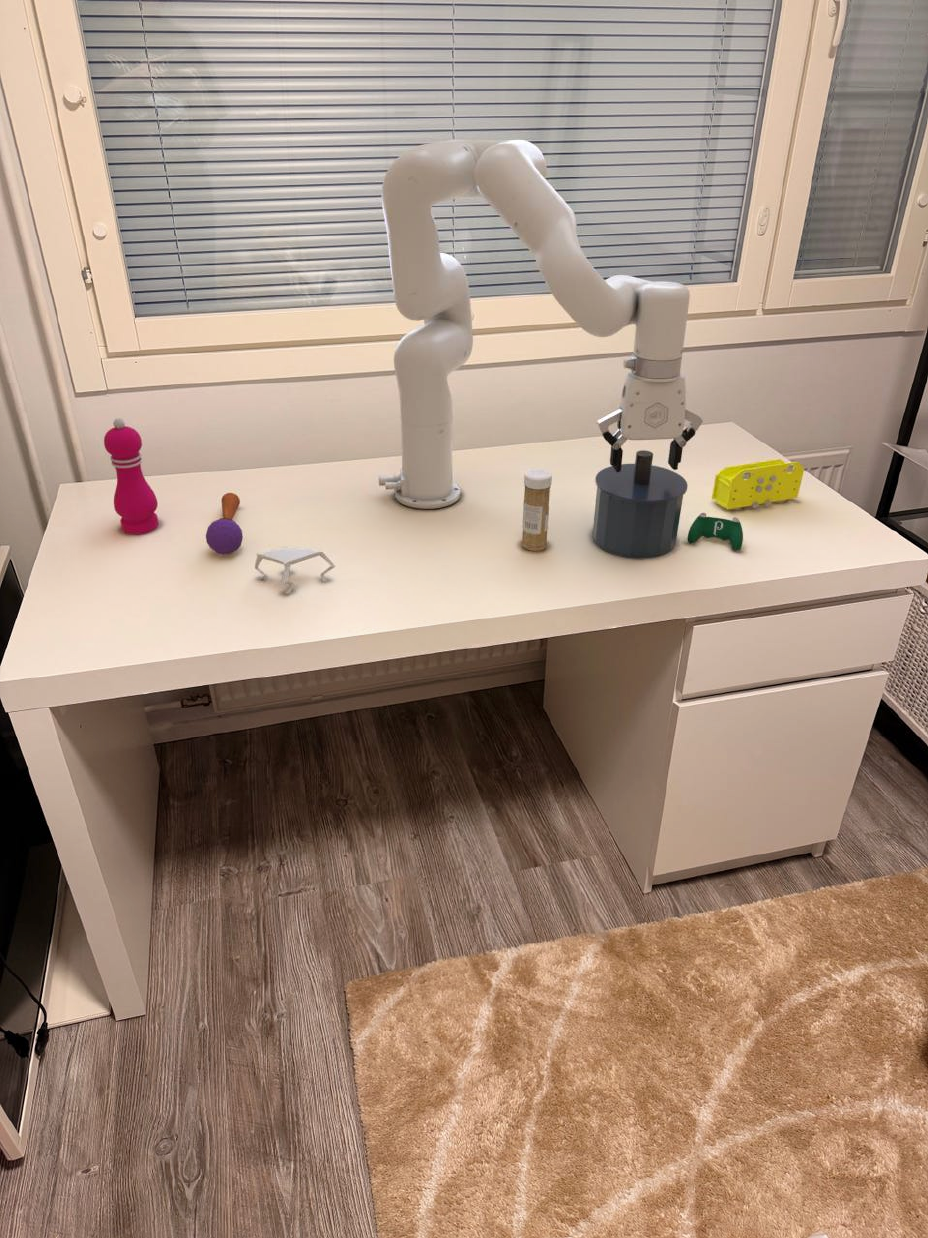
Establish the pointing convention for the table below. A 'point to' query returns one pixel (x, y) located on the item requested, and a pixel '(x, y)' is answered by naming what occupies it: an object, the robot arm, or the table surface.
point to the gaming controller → (717, 530)
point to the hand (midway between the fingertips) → (644, 467)
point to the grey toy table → (290, 561)
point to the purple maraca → (225, 528)
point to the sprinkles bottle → (536, 509)
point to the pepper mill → (130, 480)
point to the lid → (641, 481)
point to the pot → (635, 526)
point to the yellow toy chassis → (757, 484)
